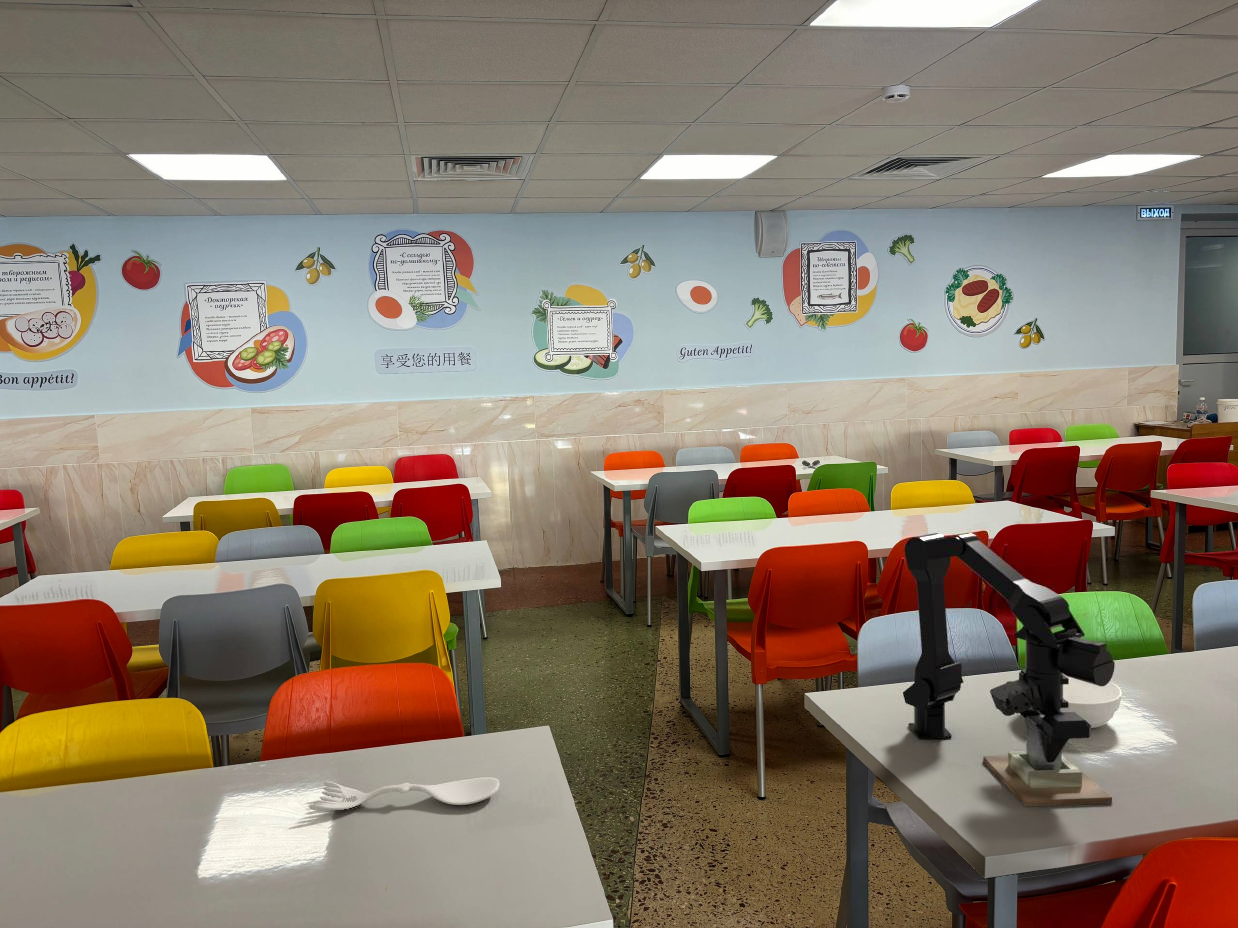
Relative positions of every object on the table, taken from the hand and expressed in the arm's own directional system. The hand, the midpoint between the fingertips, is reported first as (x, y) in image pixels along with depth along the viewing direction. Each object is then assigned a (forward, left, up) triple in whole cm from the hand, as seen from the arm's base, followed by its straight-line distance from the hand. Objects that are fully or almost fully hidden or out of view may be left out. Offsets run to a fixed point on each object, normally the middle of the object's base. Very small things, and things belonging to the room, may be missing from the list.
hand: (1043, 755), depth 141 cm
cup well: (0, 0, -4) cm, 4 cm away
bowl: (-24, +17, -5) cm, 30 cm away
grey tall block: (0, 0, -2) cm, 2 cm away
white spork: (-2, -111, -5) cm, 111 cm away
